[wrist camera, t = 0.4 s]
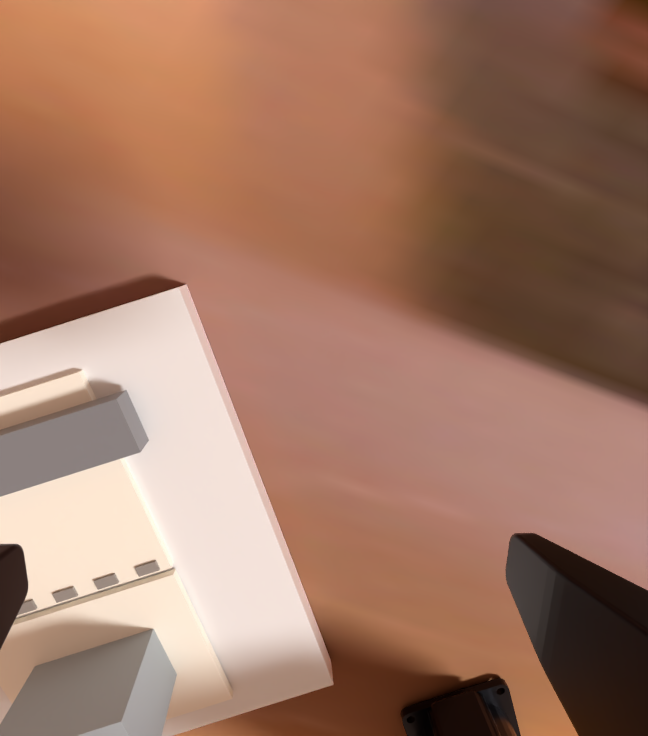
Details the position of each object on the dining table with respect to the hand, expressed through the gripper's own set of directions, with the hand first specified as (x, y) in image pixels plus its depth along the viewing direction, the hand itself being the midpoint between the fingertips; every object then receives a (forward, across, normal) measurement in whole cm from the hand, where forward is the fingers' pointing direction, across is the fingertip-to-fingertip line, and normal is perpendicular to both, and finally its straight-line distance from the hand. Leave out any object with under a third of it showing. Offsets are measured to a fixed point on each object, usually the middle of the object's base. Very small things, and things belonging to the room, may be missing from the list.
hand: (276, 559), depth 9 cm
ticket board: (+14, +10, +10) cm, 19 cm away
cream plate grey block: (+12, +9, +15) cm, 21 cm away
